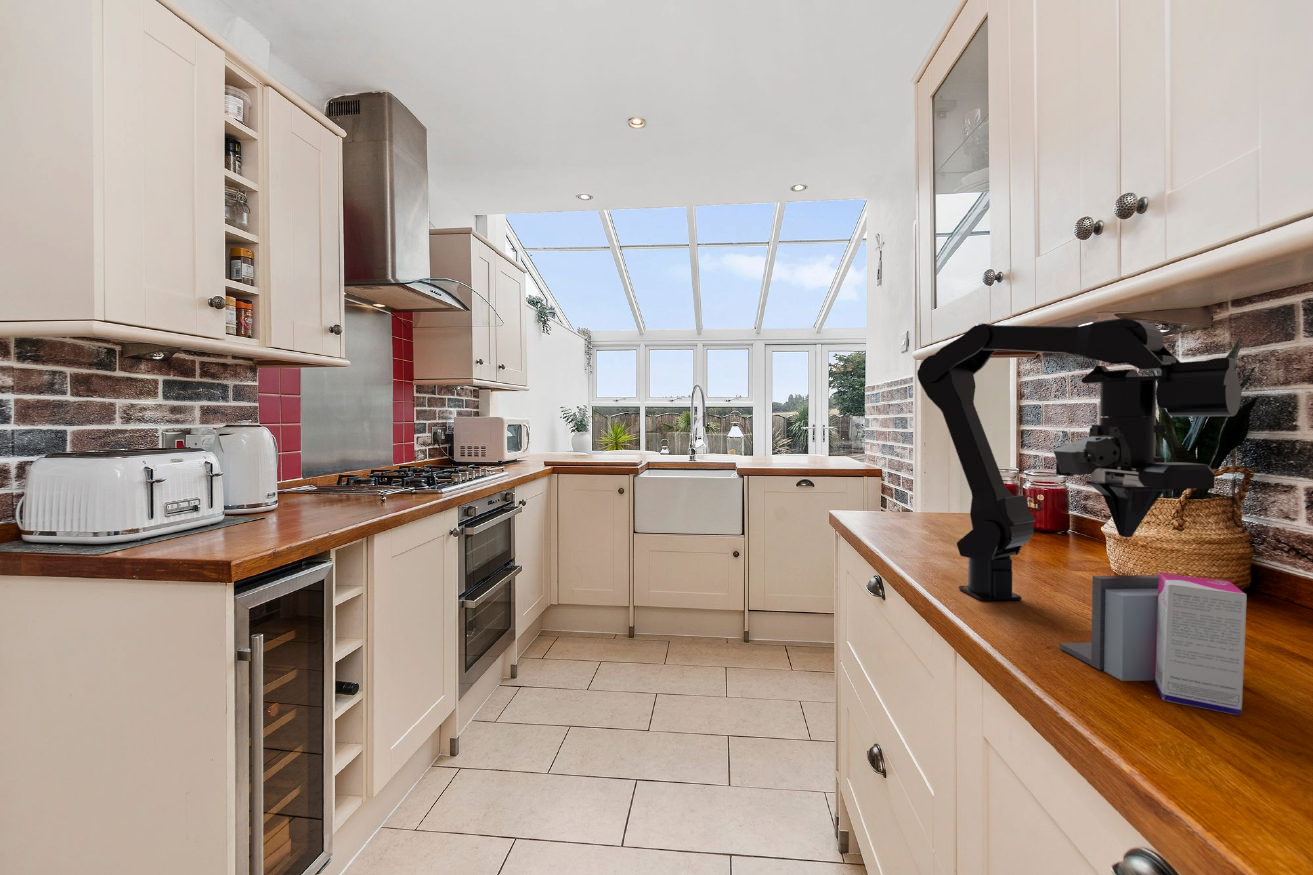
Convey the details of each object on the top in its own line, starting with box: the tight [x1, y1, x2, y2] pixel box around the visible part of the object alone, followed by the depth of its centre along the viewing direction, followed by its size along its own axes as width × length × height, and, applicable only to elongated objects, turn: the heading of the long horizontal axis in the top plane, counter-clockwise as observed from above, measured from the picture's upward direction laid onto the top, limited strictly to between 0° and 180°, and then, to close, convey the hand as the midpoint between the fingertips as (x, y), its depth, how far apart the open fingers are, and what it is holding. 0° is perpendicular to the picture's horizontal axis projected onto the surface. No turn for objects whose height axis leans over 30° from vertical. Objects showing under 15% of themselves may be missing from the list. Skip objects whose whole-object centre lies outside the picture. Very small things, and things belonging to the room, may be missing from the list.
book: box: [1103, 589, 1158, 682], centre depth 64 cm, size 2×8×9 cm, turn 92°
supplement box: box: [1153, 572, 1248, 716], centre depth 59 cm, size 6×6×12 cm
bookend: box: [1058, 574, 1159, 671], centre depth 68 cm, size 6×9×10 cm
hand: (1125, 536), depth 78 cm, fingers closed
